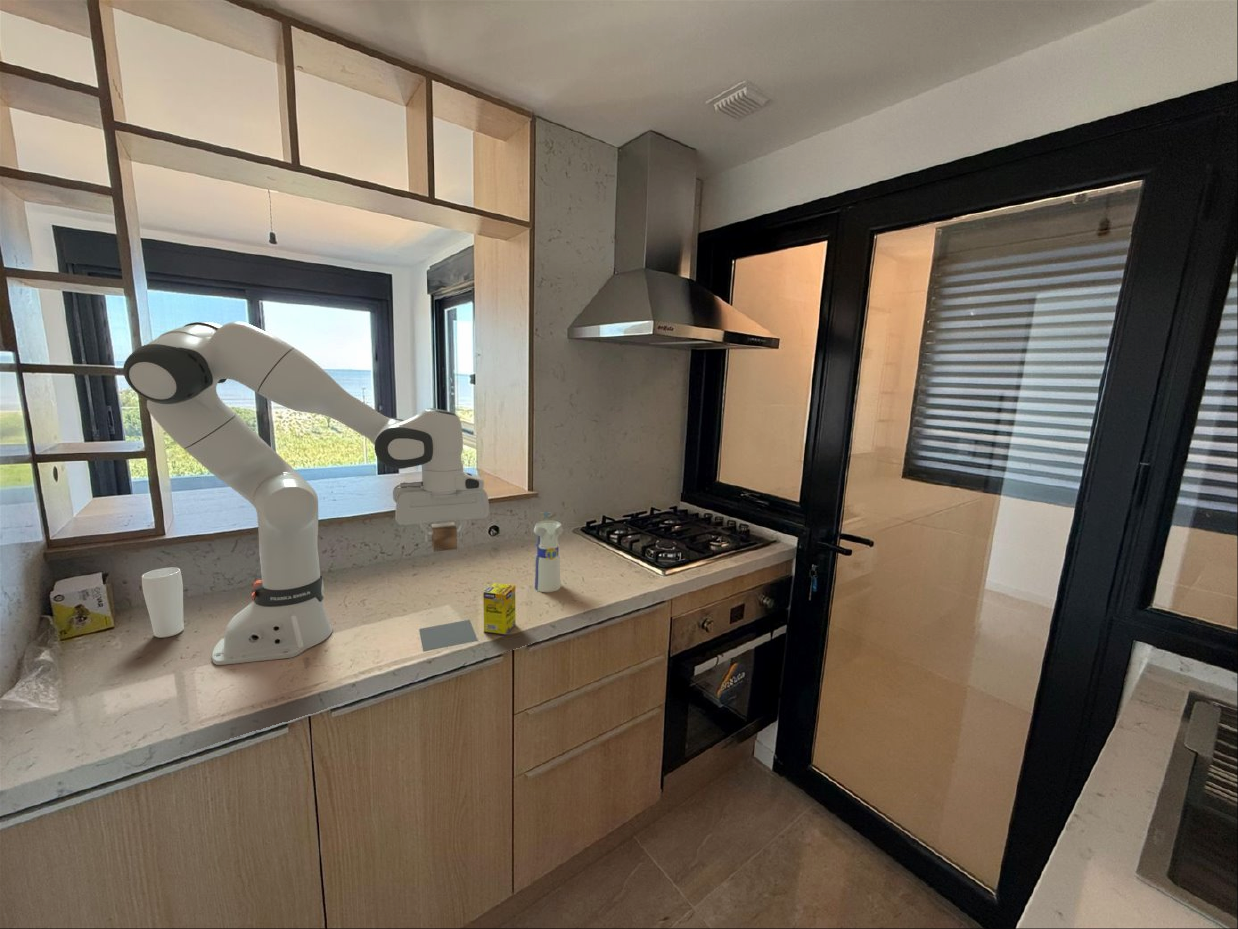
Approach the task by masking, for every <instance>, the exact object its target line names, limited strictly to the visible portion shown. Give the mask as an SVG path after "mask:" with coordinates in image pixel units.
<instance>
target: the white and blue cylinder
mask: <svg viewBox="0 0 1238 929" xmlns="http://www.w3.org/2000/svg"><path fill="white" fill-rule="evenodd" d="M539 514H540V515H542V520H541V521H538V522H537V523H535V525H534V528H533V533H534V534H535V535H537V540H536V542H535V546H536V556H535V568H534V569H535V573H534V574H535V578H534V590H536V591H537V592H540V593H541V592H542V593H553V592H556V591H558V590H560V589H561V558H560V554H559V547H560V544H561V543H560V541H559V539H558V538H559V537H560V536H562V534H563V532H564V530H563V526H562V523H561V522H559V521H556V520H550V516H551V515H552V512H548V510H547V509H545V510H544V511H543V512H540V513H539Z"/></svg>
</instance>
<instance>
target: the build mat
mask: <svg viewBox="0 0 1238 929" xmlns="http://www.w3.org/2000/svg"><path fill="white" fill-rule="evenodd" d="M418 632H419V636H420V641H421V648H422V651H423V652H427V651H433V650H438V649H443V648H447V647H452V646H458V645H462V644H467V643H472V642H477V641H479V639H478V637H477V635H476V632H475V630H474V627H473V624H472V622H471V620H470V619H466V620H459V621H456V622H455V621H454V622H450V623H444V624H439V625H438V624H437V625H433V626H428V627H423V628H418Z"/></svg>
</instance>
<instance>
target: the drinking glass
mask: <svg viewBox="0 0 1238 929" xmlns="http://www.w3.org/2000/svg"><path fill="white" fill-rule="evenodd" d="M141 587H142V592H143V596H144V601H145V605H146V608H147V611H148V615H149V619H150V623H151V626H152V633H153V635H154V637H156V638H161V639H162V638H163V639H164V638H169V637H173V636H176V635H178V634H180V633H182V631H183V632H184V630H185V622H184V588H183V587H184V585H183V577H182V572H181V568H179V567H173V566H172V567H163V568H157V569H153V570H150V571H148V572H145V573H143V574H142V575H141Z"/></svg>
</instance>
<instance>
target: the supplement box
mask: <svg viewBox="0 0 1238 929" xmlns="http://www.w3.org/2000/svg"><path fill="white" fill-rule="evenodd" d="M482 596H483V600H482V602H483V634H488V635H495V636H503V637H507V635H508V634H509V633H510V632H511V630H513V628H514V627H515V626H516V585H515V584H508V583H507V584H506V583H499V582H493V583H492V585H490V586H489V587H488V588H487V589H486V590H484V591H483V592H482Z"/></svg>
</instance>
